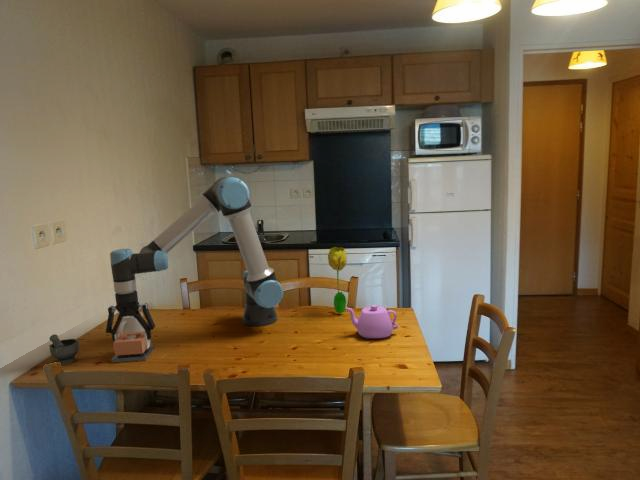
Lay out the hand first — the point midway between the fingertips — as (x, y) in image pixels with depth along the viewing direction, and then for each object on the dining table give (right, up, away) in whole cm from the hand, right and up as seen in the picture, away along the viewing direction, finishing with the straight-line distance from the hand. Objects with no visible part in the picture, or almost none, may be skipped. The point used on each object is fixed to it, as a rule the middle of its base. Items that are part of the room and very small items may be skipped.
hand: (133, 348), depth 180 cm
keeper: (0, -2, 0) cm, 2 cm away
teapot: (+90, +4, +7) cm, 90 cm away
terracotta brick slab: (0, 0, 0) cm, 0 cm away
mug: (-7, 0, +17) cm, 18 cm away
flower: (+79, +8, +33) cm, 86 cm away
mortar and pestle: (-24, -5, -2) cm, 25 cm away
